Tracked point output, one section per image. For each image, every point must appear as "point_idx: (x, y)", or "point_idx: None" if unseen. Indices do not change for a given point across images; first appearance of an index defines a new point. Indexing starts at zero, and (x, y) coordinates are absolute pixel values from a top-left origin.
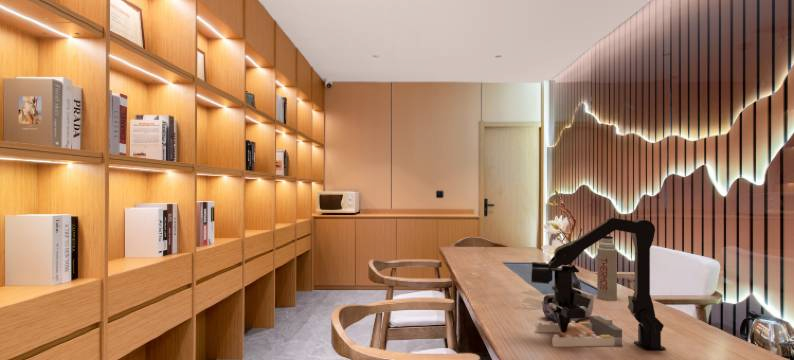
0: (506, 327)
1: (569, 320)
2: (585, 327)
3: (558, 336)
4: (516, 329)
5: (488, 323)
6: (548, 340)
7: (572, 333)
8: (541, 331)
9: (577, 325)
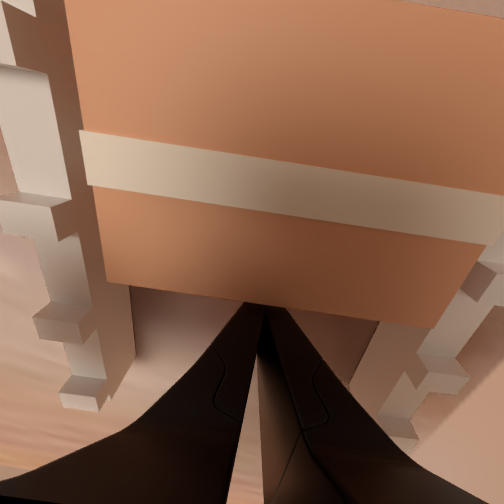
0: (60, 429)
1: (360, 409)
2: (318, 16)
3: (415, 439)
4: (86, 410)
5: (12, 457)
6: None
7: (398, 316)
8: (131, 342)
9: (193, 101)
